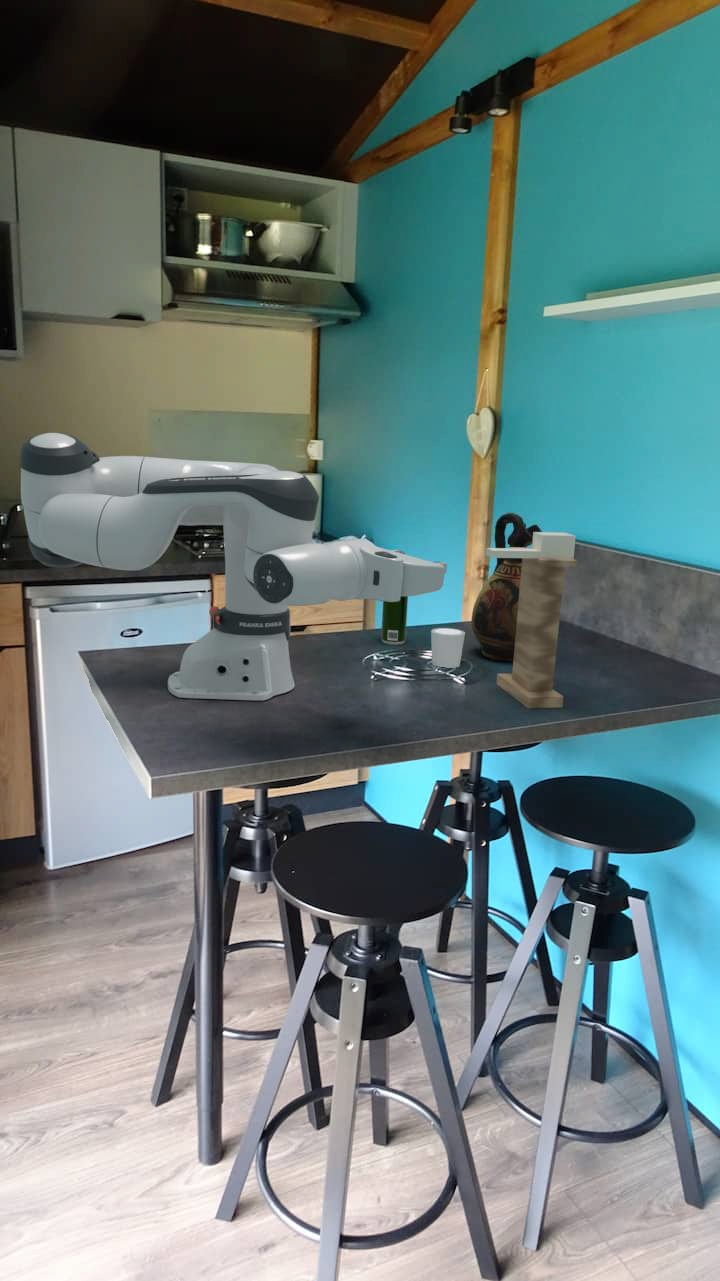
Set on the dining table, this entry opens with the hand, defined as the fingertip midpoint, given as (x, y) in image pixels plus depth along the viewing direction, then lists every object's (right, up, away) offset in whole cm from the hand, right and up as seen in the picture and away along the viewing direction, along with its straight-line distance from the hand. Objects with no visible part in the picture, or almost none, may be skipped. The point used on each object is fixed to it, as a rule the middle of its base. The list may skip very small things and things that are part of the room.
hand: (422, 561), depth 147 cm
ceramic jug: (+21, -16, +50) cm, 57 cm away
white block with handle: (+19, +2, +11) cm, 22 cm away
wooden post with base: (+21, -23, +22) cm, 38 cm away
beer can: (-3, -13, +57) cm, 58 cm away
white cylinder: (+8, -18, +40) cm, 45 cm away
